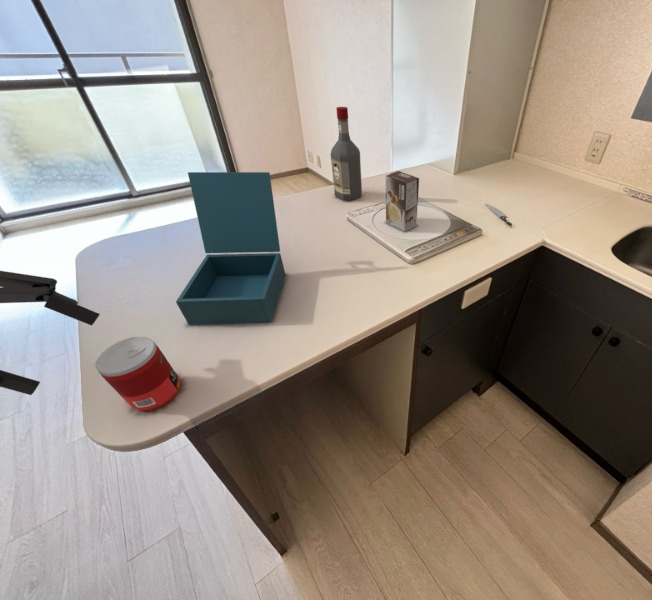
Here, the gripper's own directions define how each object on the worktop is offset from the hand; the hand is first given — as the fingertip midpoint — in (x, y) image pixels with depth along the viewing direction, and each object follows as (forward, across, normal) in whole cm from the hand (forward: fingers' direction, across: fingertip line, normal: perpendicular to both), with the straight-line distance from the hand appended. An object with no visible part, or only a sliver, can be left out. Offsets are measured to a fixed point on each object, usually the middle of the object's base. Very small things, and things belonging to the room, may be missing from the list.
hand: (69, 350), depth 50 cm
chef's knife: (+76, -68, +58) cm, 117 cm away
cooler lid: (+8, -38, +14) cm, 41 cm away
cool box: (+20, -26, +2) cm, 33 cm away
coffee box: (+50, -62, +32) cm, 86 cm away
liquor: (+37, -86, +19) cm, 95 cm away
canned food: (+14, 0, -3) cm, 15 cm away
